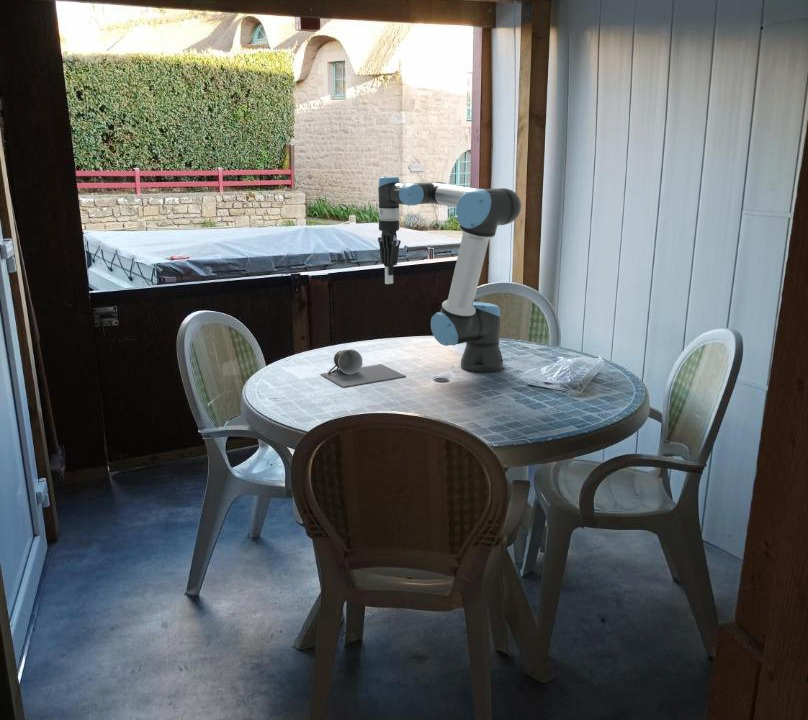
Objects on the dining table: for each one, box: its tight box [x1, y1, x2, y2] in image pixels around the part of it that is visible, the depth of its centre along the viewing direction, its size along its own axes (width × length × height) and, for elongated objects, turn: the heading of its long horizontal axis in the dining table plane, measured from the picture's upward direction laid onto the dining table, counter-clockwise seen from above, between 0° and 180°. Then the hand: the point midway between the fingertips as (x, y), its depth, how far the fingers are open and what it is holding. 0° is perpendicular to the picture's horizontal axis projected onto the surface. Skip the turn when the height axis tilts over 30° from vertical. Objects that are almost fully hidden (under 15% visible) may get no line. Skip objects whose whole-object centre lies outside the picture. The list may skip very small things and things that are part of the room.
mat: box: [320, 363, 407, 388], centre depth 260 cm, size 17×24×1 cm
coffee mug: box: [327, 349, 363, 375], centre depth 263 cm, size 12×9×10 cm
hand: (389, 283), depth 284 cm, fingers closed
